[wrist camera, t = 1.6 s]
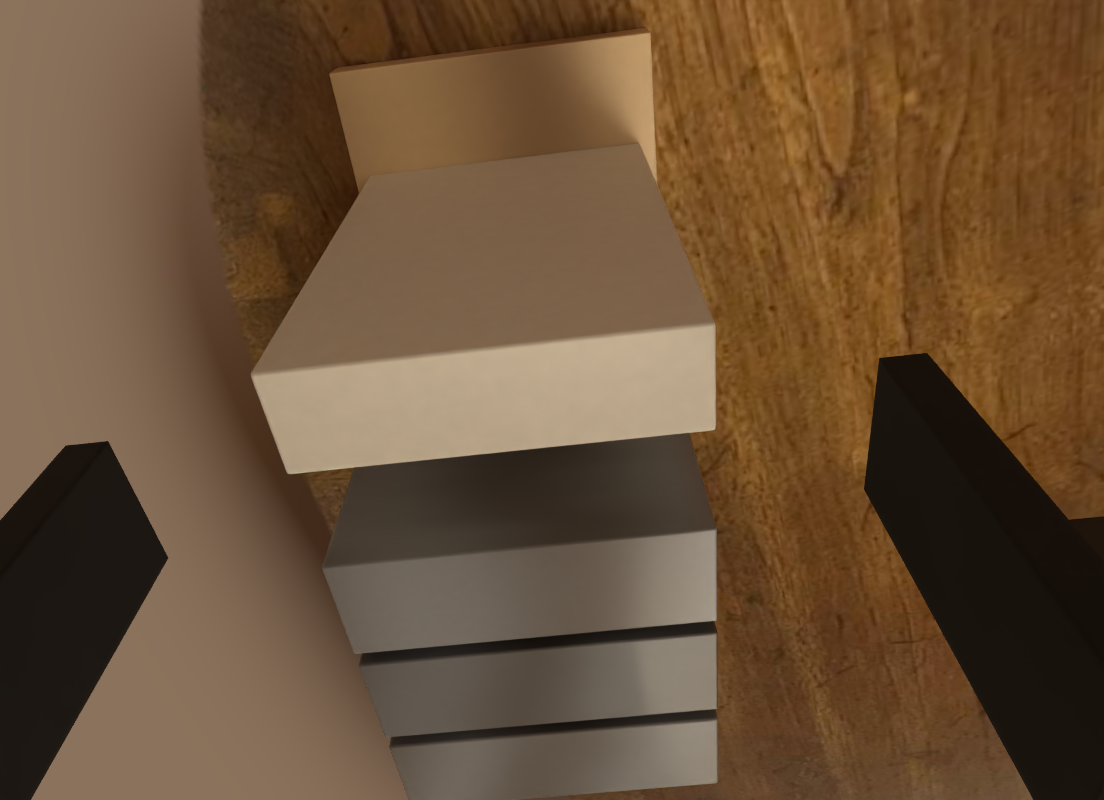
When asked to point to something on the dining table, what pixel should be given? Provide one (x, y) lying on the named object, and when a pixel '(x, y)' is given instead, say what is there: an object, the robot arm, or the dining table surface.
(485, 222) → the white book
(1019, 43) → the dining table surface
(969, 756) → the dining table surface
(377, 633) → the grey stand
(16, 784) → the robot arm
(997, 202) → the dining table surface
